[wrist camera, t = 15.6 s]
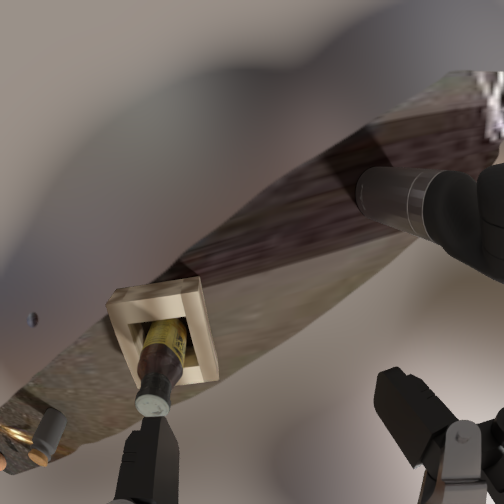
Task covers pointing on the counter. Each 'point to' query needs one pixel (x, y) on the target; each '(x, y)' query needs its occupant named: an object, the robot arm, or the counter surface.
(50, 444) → the bottle
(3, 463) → the egg
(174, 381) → the sauce bottle
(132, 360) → the dock block
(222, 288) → the counter surface
